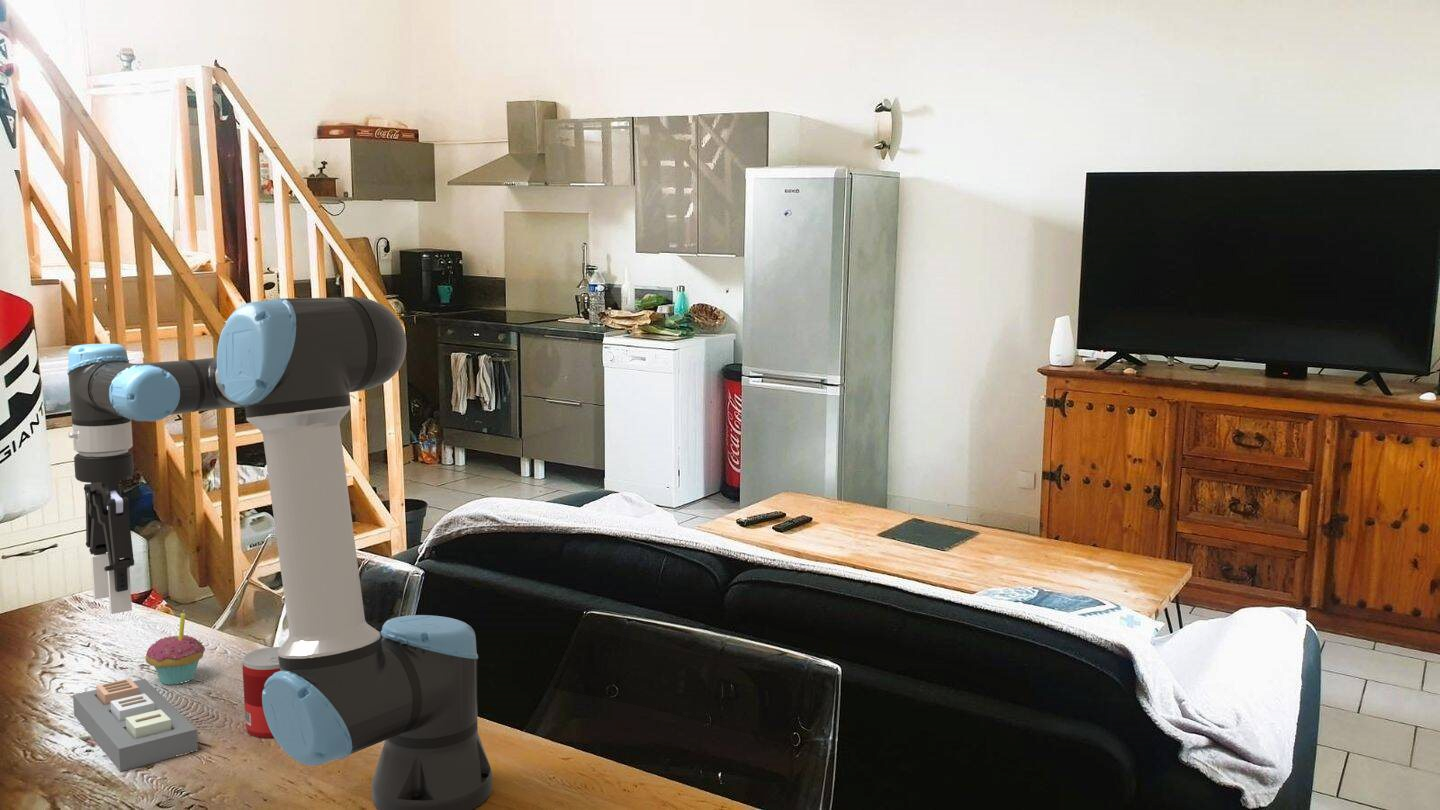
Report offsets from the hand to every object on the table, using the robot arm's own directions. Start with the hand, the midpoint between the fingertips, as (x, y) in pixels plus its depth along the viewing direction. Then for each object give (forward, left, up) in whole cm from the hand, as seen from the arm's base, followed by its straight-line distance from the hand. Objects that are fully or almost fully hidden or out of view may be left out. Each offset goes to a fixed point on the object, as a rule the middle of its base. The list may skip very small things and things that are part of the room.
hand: (112, 604), depth 172 cm
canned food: (-19, -16, -18) cm, 30 cm away
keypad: (-8, 0, -17) cm, 19 cm away
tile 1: (-15, 0, -15) cm, 21 cm away
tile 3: (0, 0, -15) cm, 15 cm away
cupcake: (+9, -11, -18) cm, 23 cm away
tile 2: (-8, 0, -15) cm, 17 cm away
